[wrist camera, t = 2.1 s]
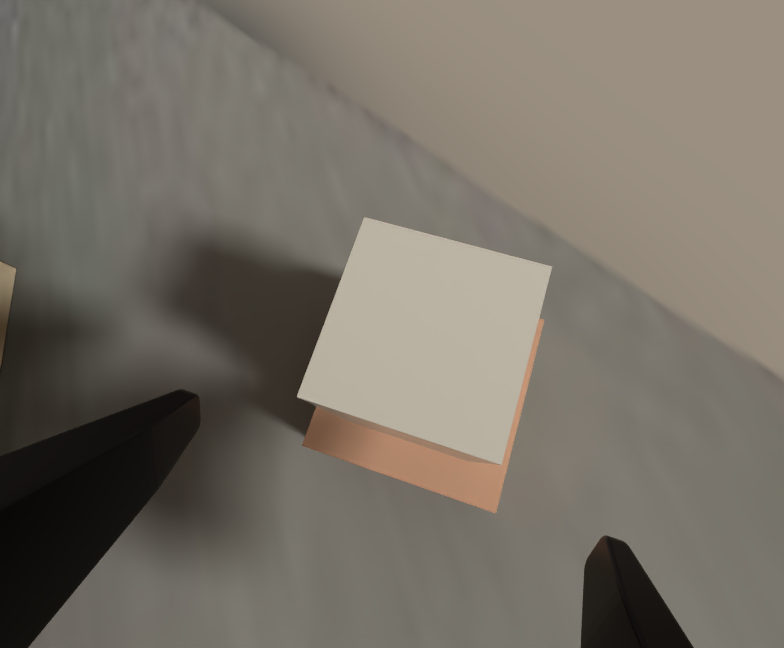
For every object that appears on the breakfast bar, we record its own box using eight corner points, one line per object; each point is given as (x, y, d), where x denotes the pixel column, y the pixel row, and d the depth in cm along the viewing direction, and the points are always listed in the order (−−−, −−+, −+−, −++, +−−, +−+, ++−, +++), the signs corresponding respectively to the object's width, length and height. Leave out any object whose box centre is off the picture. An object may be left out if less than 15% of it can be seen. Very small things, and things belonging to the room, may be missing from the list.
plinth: (481, 501, 19) (495, 513, 15) (325, 447, 20) (301, 445, 16) (522, 345, 21) (544, 319, 17) (376, 302, 22) (366, 269, 18)
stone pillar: (468, 461, 16) (501, 465, 9) (348, 421, 16) (296, 397, 10) (500, 342, 17) (552, 266, 10) (387, 309, 17) (364, 217, 11)
